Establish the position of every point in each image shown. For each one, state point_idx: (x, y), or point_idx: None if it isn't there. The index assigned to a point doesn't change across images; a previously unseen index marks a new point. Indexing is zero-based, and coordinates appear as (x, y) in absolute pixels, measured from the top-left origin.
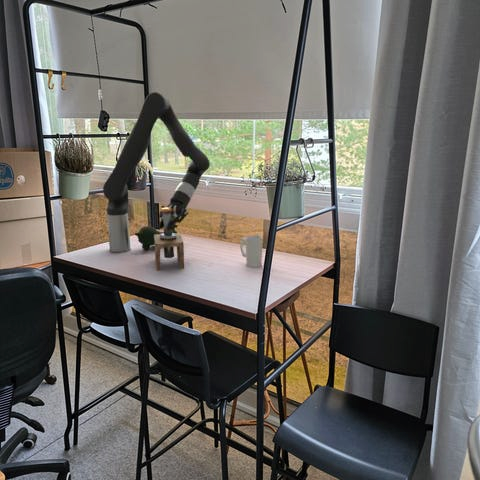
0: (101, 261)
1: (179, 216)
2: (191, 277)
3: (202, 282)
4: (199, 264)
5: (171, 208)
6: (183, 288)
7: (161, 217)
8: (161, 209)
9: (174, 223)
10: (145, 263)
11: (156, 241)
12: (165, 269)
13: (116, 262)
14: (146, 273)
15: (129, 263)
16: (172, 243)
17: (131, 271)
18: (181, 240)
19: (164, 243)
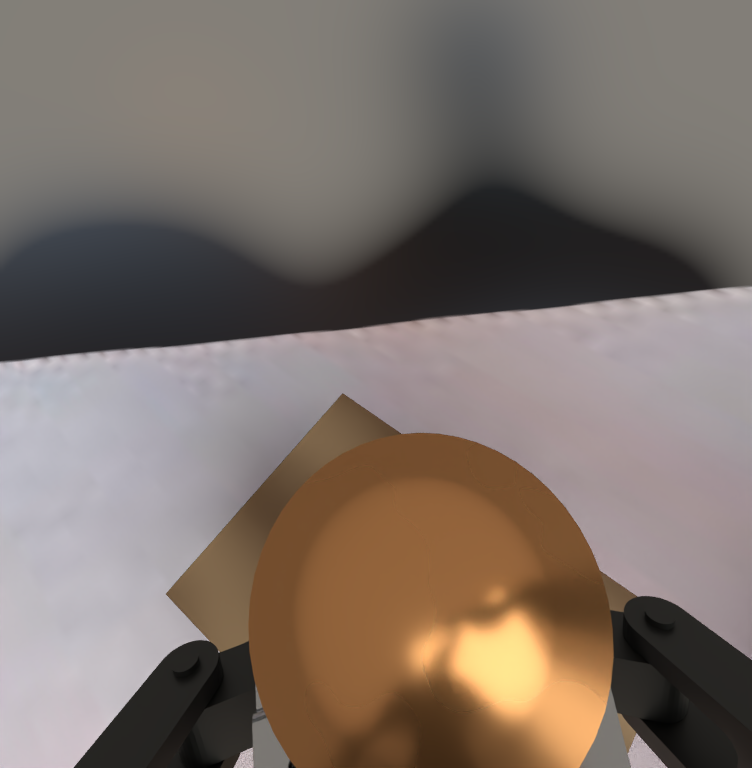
0: (744, 366)
1: (114, 723)
2: (121, 510)
3: (29, 493)
4: None
5: (305, 715)
6: (81, 385)
7: (614, 625)
8: (468, 444)
9: None
10: None
11: None
12: None
13: (670, 408)
14: (371, 401)
15: (599, 444)
16: (244, 506)
17: (457, 373)
18: (226, 637)
19: (294, 450)
